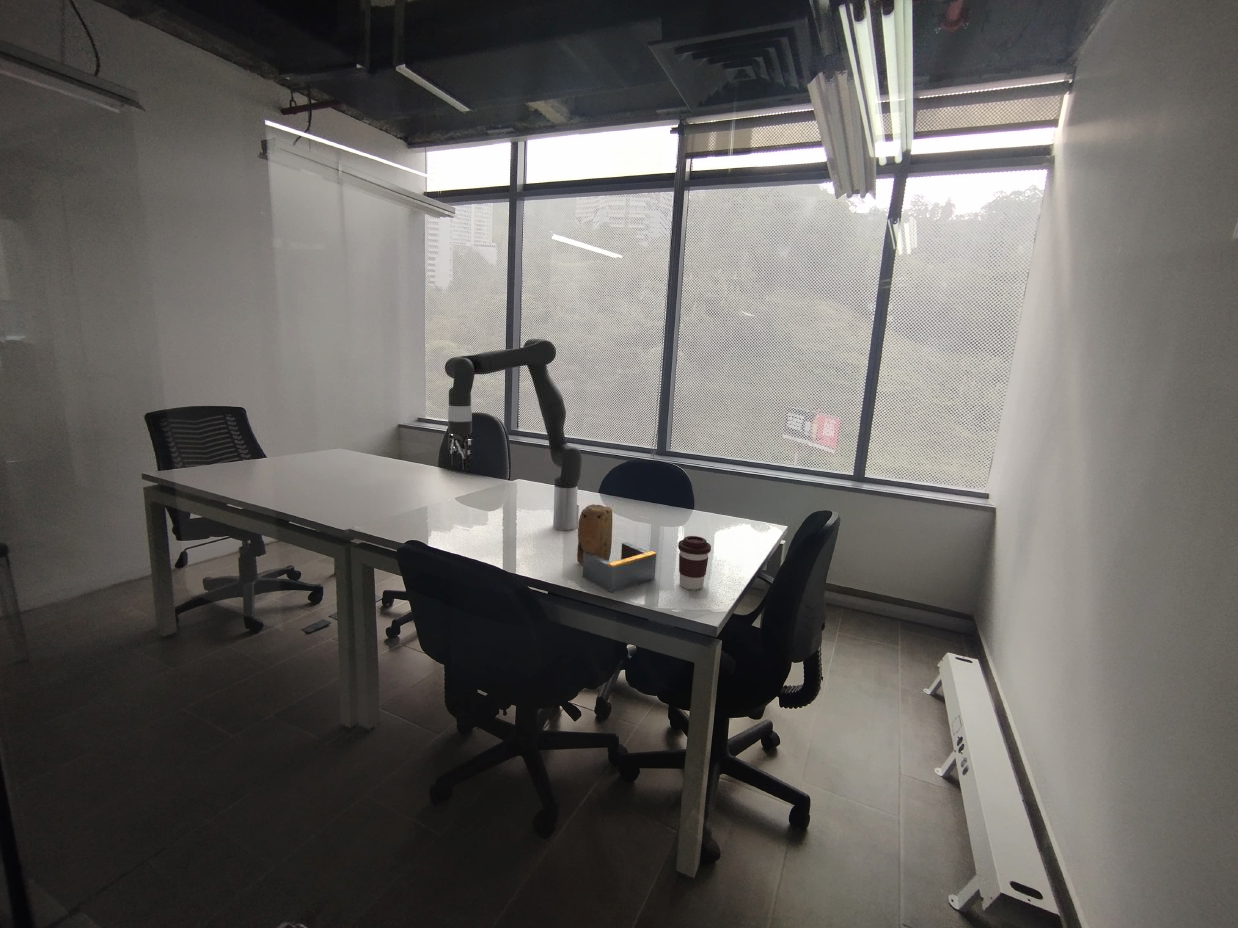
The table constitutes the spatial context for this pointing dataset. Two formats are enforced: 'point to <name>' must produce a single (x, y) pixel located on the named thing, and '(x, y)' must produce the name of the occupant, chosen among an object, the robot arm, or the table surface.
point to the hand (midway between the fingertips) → (460, 467)
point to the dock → (620, 568)
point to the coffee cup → (693, 561)
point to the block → (595, 532)
